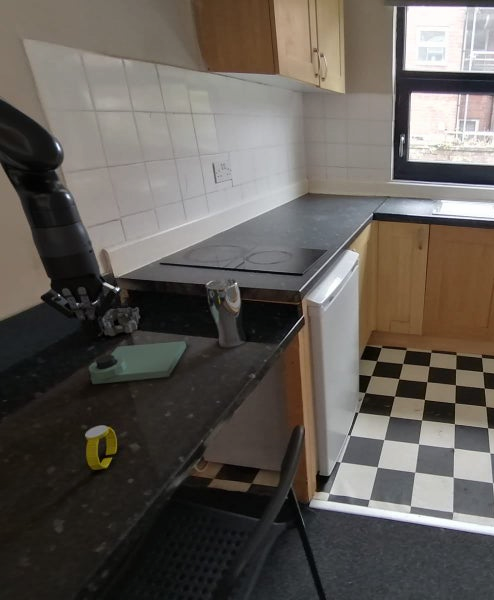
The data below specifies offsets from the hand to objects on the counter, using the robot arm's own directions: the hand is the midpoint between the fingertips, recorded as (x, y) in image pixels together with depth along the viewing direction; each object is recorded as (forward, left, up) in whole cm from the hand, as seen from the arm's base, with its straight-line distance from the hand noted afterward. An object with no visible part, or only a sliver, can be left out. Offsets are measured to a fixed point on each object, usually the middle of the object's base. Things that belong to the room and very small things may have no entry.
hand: (97, 334), depth 78 cm
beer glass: (+21, +11, -11) cm, 26 cm away
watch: (+9, -24, -11) cm, 27 cm away
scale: (+4, +4, -10) cm, 12 cm away
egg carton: (-8, +24, -11) cm, 28 cm away
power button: (0, 0, -7) cm, 7 cm away
